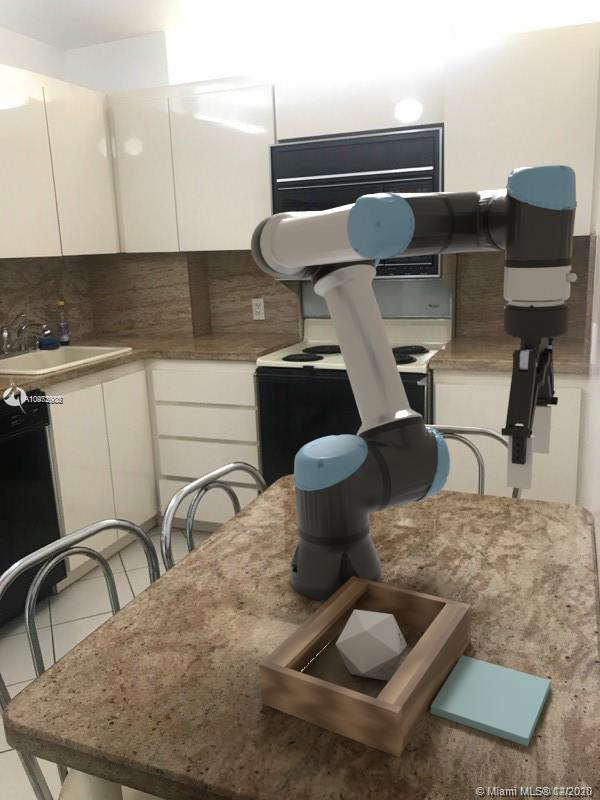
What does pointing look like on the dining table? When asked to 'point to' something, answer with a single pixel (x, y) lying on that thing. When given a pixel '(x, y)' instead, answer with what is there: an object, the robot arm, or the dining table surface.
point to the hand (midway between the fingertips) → (529, 468)
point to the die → (371, 644)
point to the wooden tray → (407, 689)
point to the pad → (492, 699)
